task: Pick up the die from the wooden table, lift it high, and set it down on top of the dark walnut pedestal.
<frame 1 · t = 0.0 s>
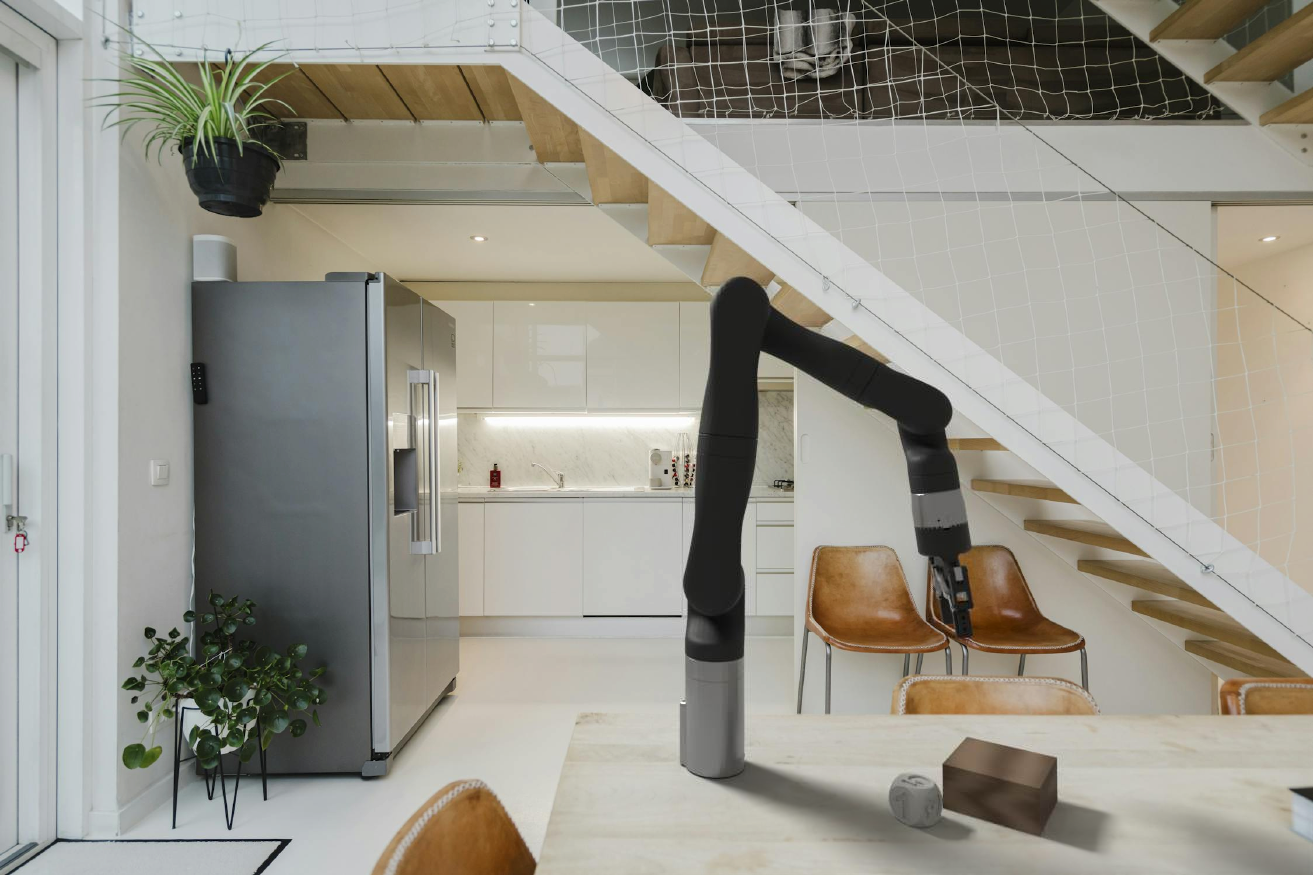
hand: (957, 629, 108), 22 cm above the table, tool pointing down, fingers open, 8 cm apart
pedestal: (1000, 804, 101), on the table
die: (915, 820, 97), on the table
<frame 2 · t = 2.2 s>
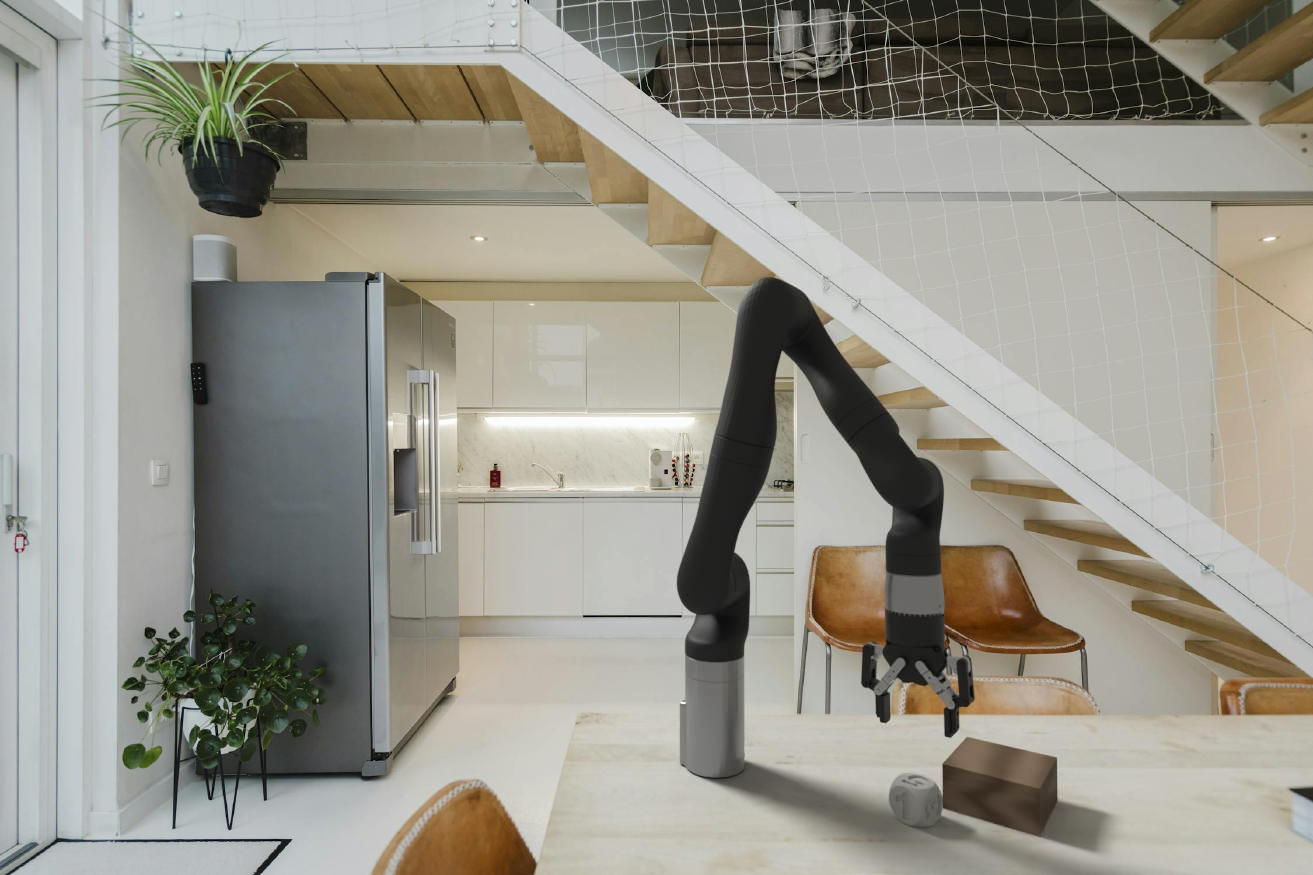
hand: (916, 728, 97), 12 cm above the table, tool pointing down, fingers open, 8 cm apart
nothing on the table moved.
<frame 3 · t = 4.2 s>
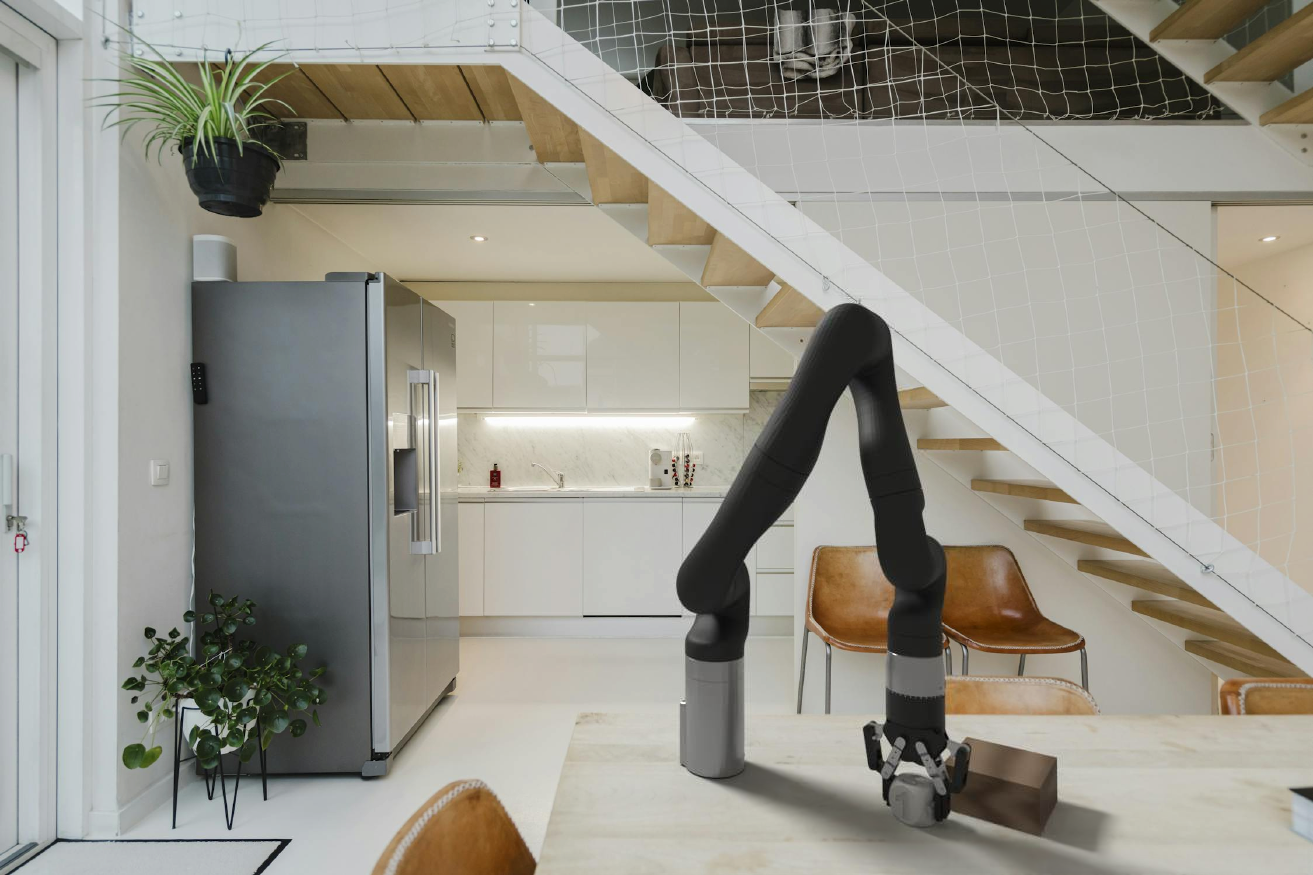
hand: (915, 811, 97), 1 cm above the table, tool pointing down, fingers closed on die, 6 cm apart
die: (915, 819, 97), on the table, touching gripper
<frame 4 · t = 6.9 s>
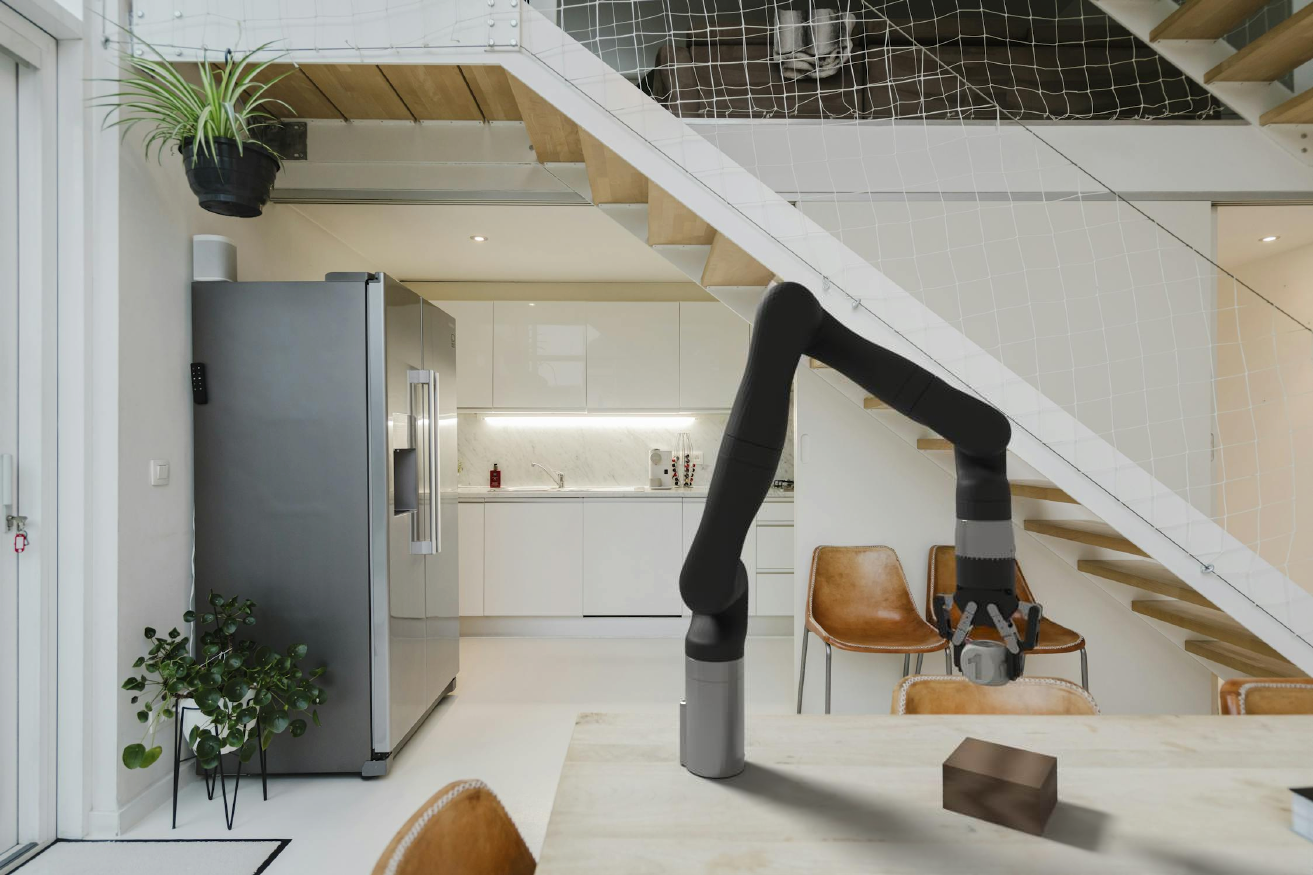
hand: (987, 674, 100), 18 cm above the table, tool pointing down, fingers closed on die, 6 cm apart
die: (987, 682, 100), point 17 cm above the table, touching gripper
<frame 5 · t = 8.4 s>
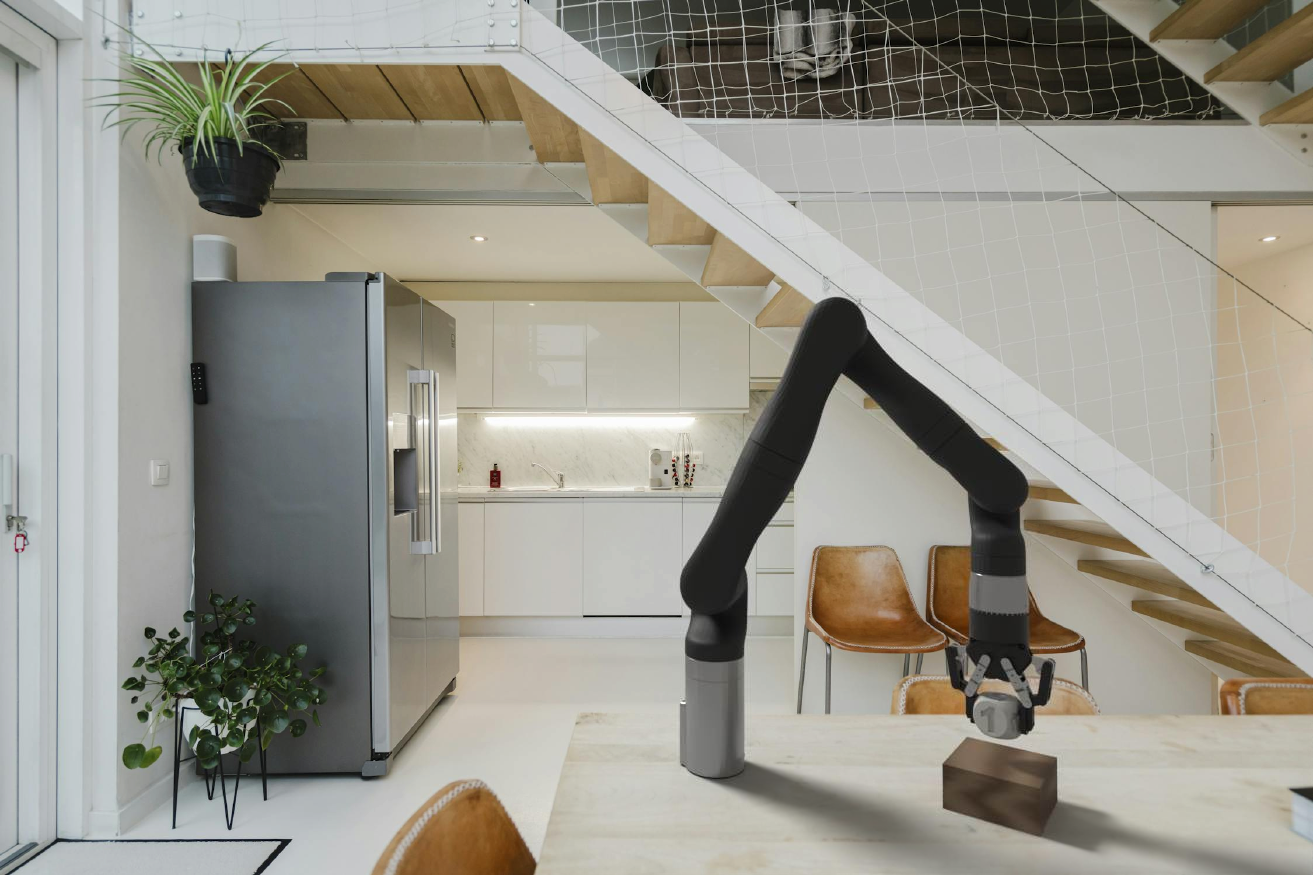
hand: (999, 726, 101), 11 cm above the table, tool pointing down, fingers closed on die, 6 cm apart
die: (999, 734, 101), point 10 cm above the table, touching gripper
when the fingers open (8 cm above the table, at t = 9.8 s): die drops 1 cm, resting on pedestal.
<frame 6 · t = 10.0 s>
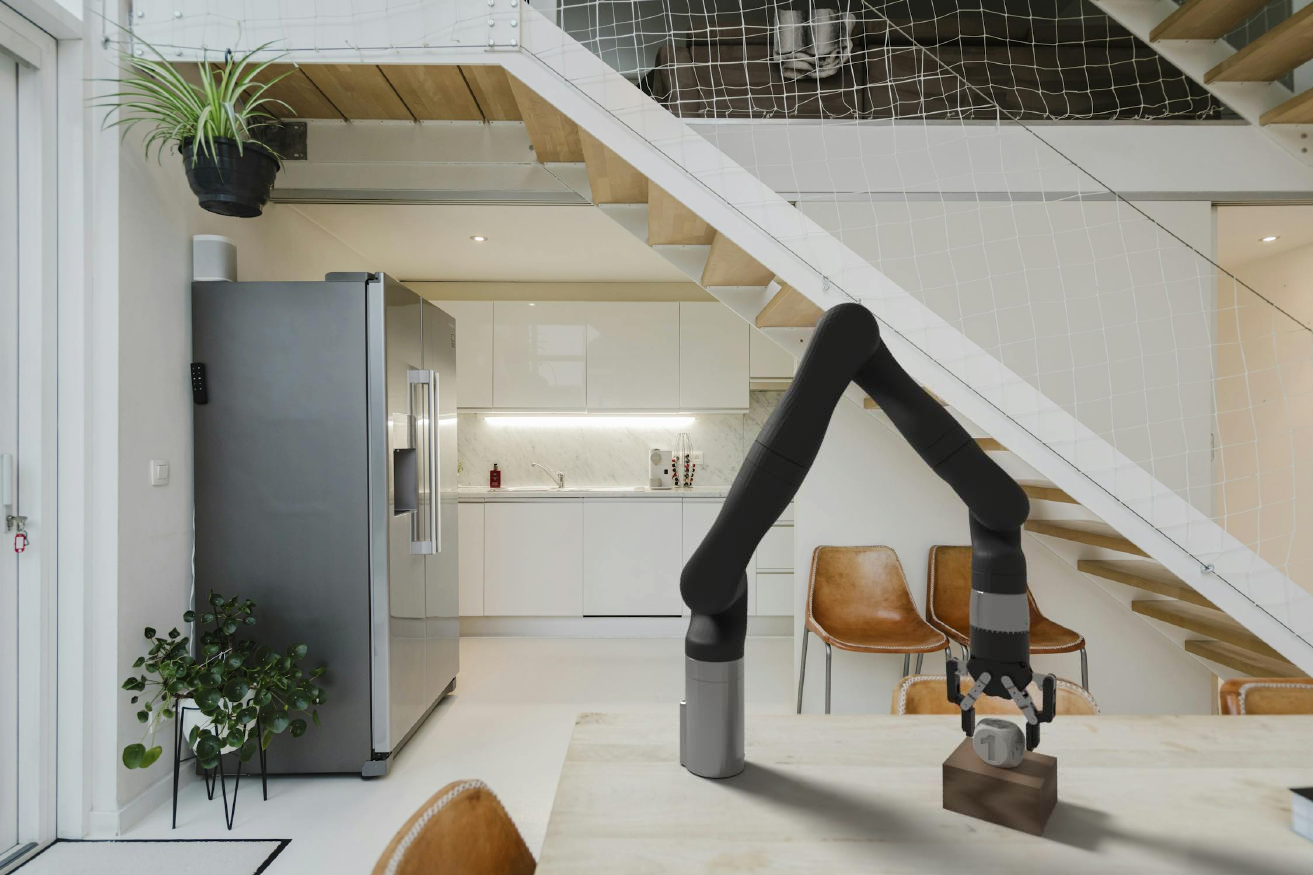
hand: (1000, 742, 101), 9 cm above the table, tool pointing down, fingers open, 7 cm apart
die: (999, 761, 101), point 6 cm above the table, touching pedestal
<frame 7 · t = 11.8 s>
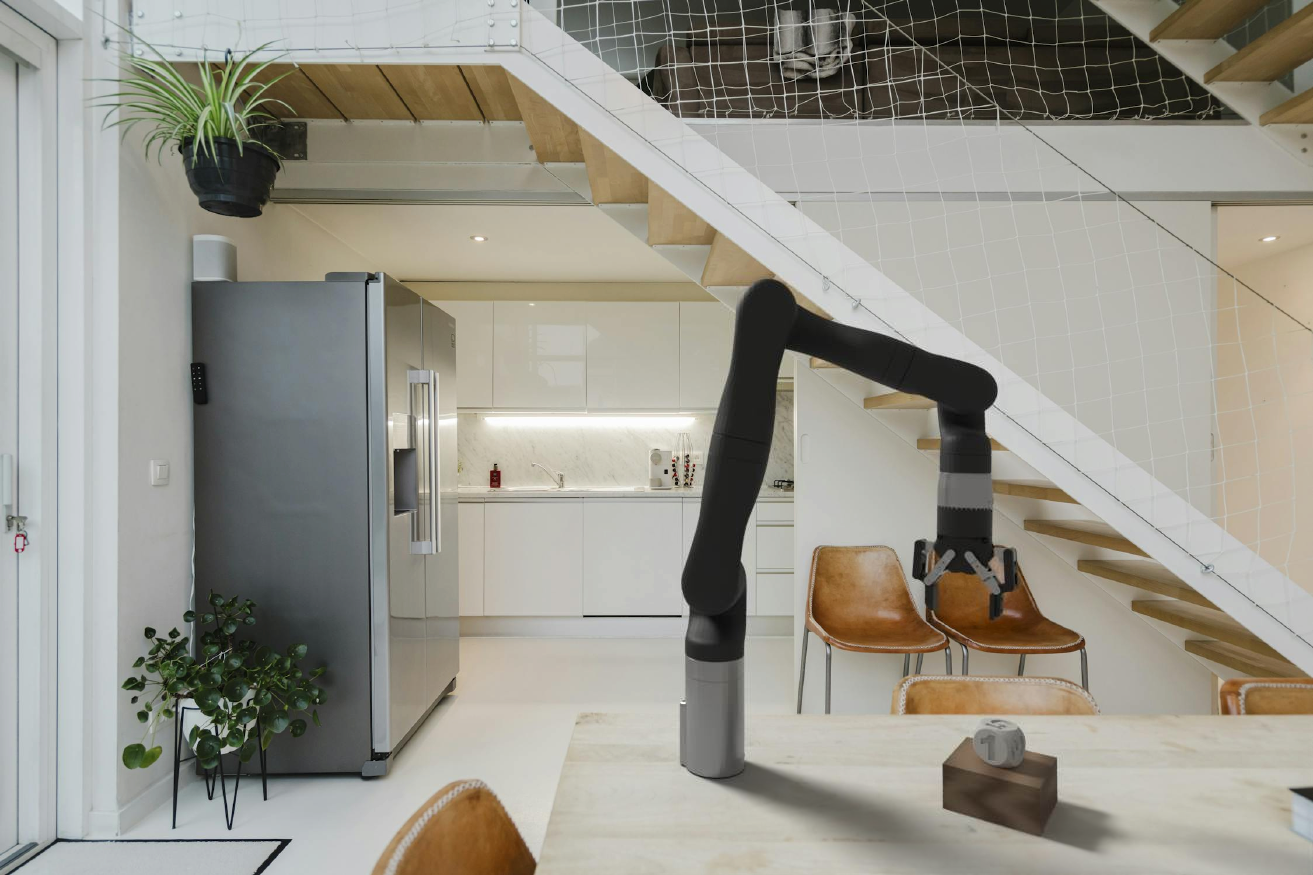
hand: (962, 614, 106), 25 cm above the table, tool pointing down, fingers open, 8 cm apart
nothing on the table moved.
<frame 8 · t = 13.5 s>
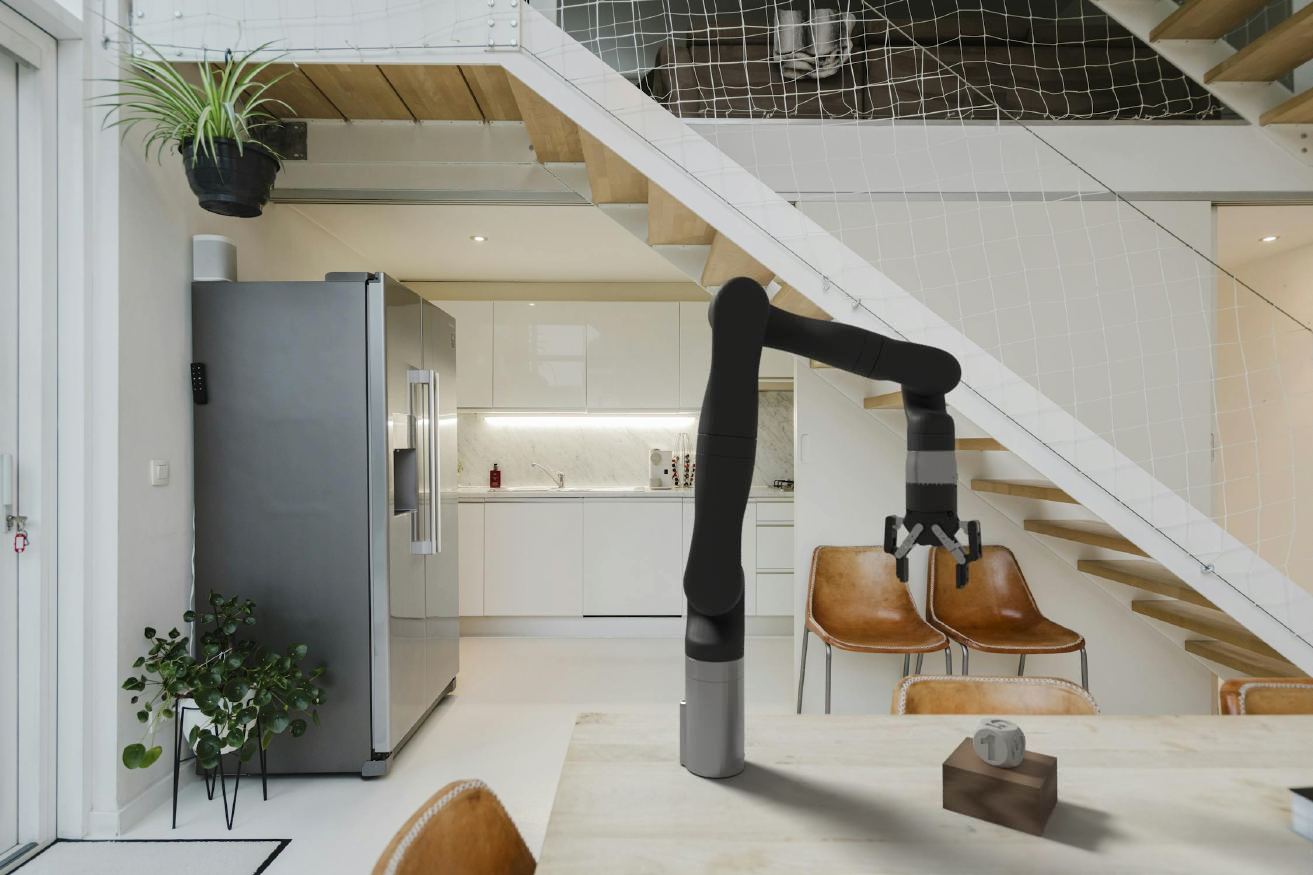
hand: (931, 585, 113), 28 cm above the table, tool pointing down, fingers open, 8 cm apart
nothing on the table moved.
at the end: die inside the target area on the pedestal (0.1 cm from its centre), point 5.8 cm above the pedestal's base; die tilted 0°; the gripper is holding nothing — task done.
